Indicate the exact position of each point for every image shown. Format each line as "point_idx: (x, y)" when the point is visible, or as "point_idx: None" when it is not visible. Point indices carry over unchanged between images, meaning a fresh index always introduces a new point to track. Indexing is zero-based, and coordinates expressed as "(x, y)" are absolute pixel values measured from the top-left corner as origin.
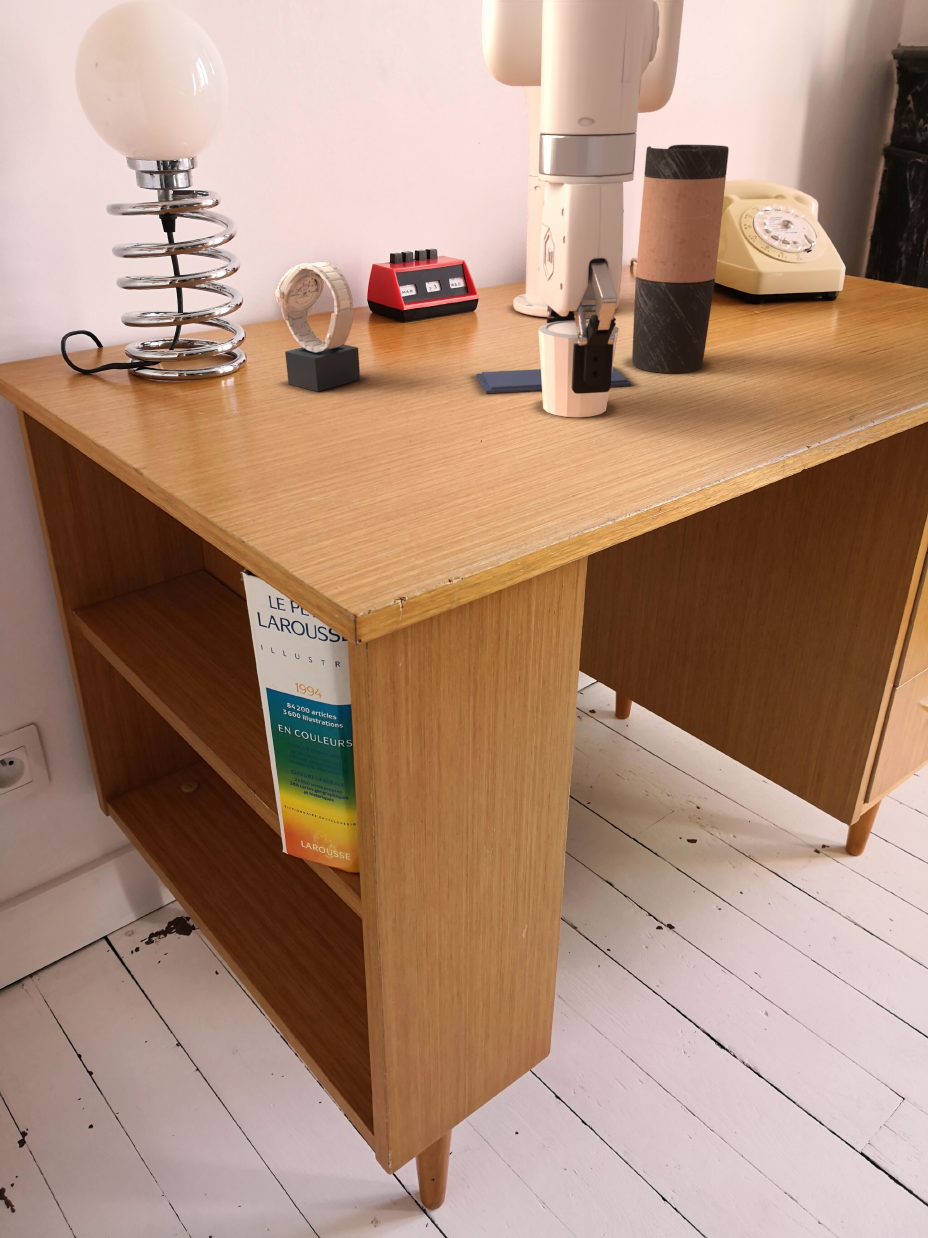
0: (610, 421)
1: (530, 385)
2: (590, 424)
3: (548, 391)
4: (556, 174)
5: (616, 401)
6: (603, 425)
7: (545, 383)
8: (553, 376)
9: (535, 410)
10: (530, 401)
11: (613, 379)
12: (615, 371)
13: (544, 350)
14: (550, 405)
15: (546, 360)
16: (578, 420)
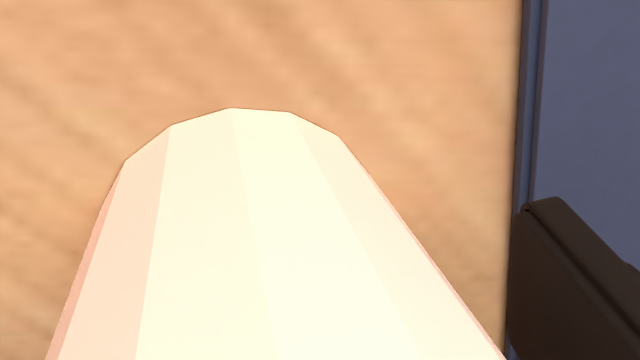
0: None
1: (542, 57)
2: (9, 290)
3: (150, 182)
4: None
5: None
6: (6, 331)
7: (171, 187)
8: (99, 264)
9: (201, 70)
10: (355, 46)
11: None
12: None
13: (135, 323)
14: (148, 156)
15: (131, 285)
16: (60, 248)
